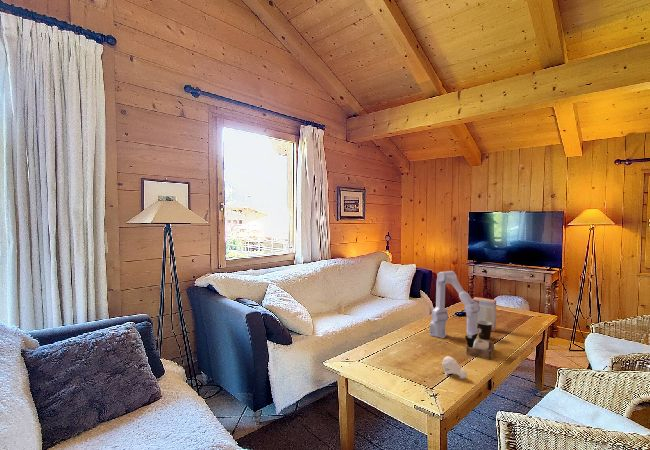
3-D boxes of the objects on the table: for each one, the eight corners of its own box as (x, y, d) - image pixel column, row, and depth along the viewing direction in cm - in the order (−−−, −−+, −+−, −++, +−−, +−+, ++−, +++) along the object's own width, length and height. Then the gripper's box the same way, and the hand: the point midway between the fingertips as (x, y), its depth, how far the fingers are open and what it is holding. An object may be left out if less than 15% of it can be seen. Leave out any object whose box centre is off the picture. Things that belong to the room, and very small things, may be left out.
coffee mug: (493, 341, 210) (493, 325, 209) (478, 340, 211) (479, 324, 211) (488, 334, 221) (488, 319, 221) (474, 333, 223) (474, 318, 222)
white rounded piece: (447, 353, 172) (470, 363, 163) (446, 368, 173) (468, 379, 164) (441, 356, 168) (464, 367, 159) (439, 372, 169) (462, 384, 160)
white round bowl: (469, 352, 192) (470, 342, 192) (472, 347, 200) (473, 337, 200) (487, 356, 188) (487, 346, 187) (489, 350, 195) (489, 340, 195)
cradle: (466, 354, 191) (466, 345, 190) (470, 345, 203) (471, 337, 203) (491, 359, 184) (491, 350, 183) (494, 349, 197) (494, 341, 196)
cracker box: (496, 329, 229) (496, 299, 228) (493, 332, 225) (494, 301, 224) (474, 325, 239) (475, 296, 238) (472, 327, 234) (472, 298, 233)
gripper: (477, 328, 187) (477, 352, 188) (481, 321, 199) (480, 343, 200) (464, 326, 191) (463, 349, 192) (468, 319, 203) (468, 341, 204)
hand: (471, 346), depth 196 cm, fingers open, 7 cm apart
